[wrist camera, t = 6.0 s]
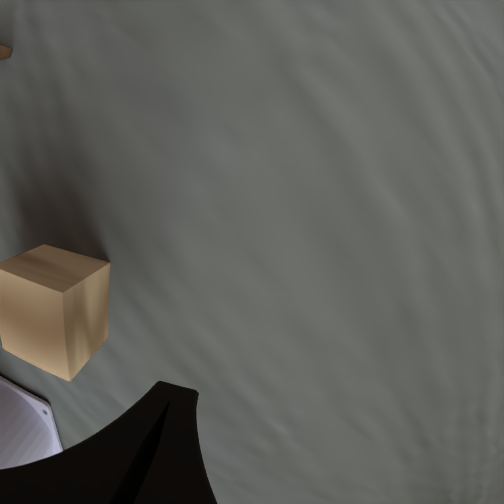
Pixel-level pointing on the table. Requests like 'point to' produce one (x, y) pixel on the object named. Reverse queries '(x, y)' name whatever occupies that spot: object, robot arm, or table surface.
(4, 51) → the rack
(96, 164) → the table surface
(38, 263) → the maple block
